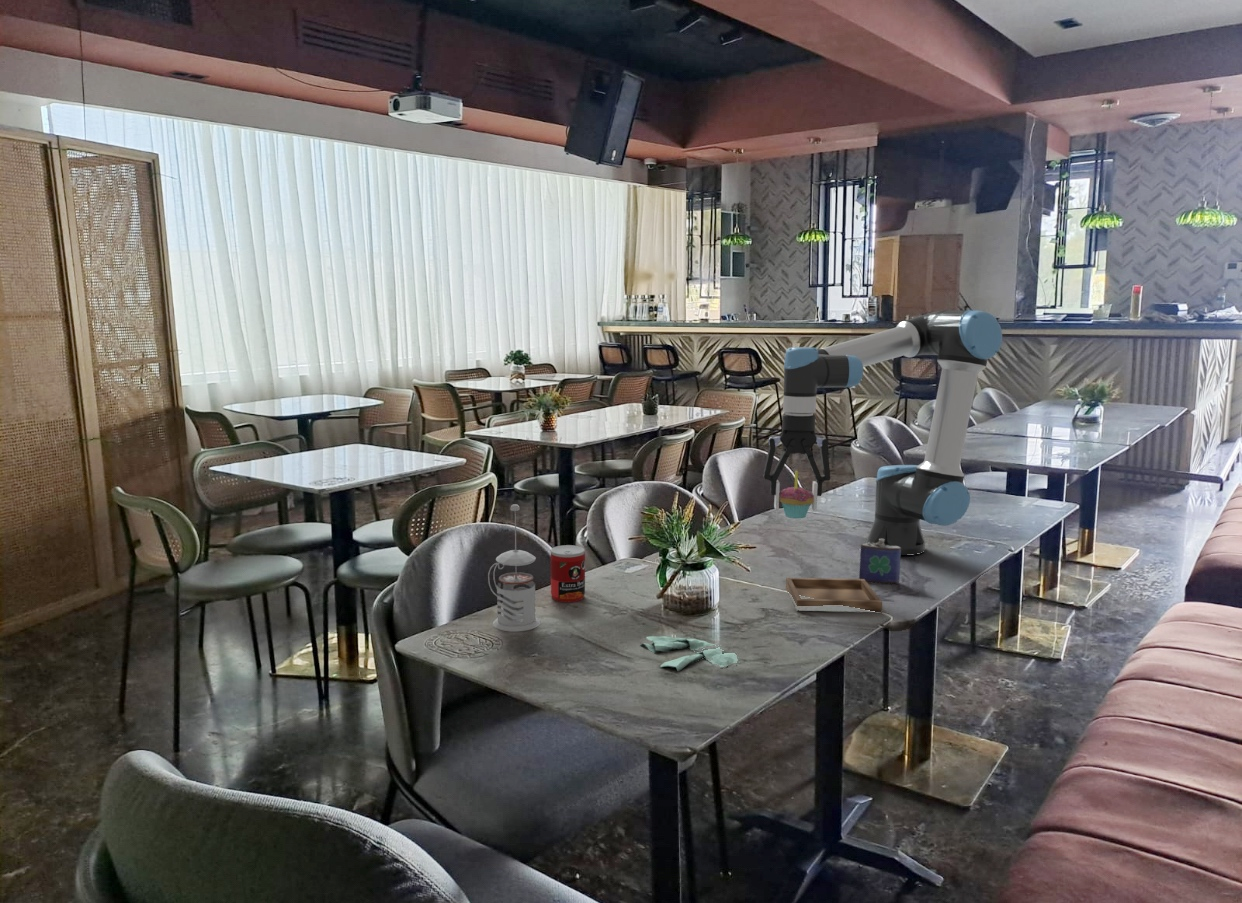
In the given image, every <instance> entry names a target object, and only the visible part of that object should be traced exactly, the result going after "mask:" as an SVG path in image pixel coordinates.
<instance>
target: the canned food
mask: <svg viewBox="0 0 1242 903" xmlns="http://www.w3.org/2000/svg"><path fill="white" fill-rule="evenodd" d="M585 550H586V549H585V548H584V547H582V546H578V545H574V544H573V545H572V544H566V545H557V546H554V547H552V548H551V549H550V594H551V598H552V600H554V601H557V602H561V603H575V602H579V601H581V600H583V599H584V597H585V594H586V551H585Z"/></svg>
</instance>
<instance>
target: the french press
mask: <svg viewBox="0 0 1242 903" xmlns="http://www.w3.org/2000/svg"><path fill="white" fill-rule="evenodd" d="M509 510H510V511H512V512H514V549H511V550H507V551H505V552H502V553H501V554H499V555H498V556H496V558H495V561H496V562H495V563H494V564H492V565H491V566H490V568H489V570H488V574H487V584H488V586H489V588H490V591H491V592H492V594H493V595H494V596H495V597H497V599H496V601H497V604H496V605H497V606H496V607H497V611H496V612H497V618H495V619H494V620H493V623H492V626H493V627H494V628H495V629H497V630H500V631H504V632H505V631H506V632H523V631H524V632H525V631H531V630H533V629H535V628H537V627H538V626H540V625H541V620H540V619H539V618H538V617H537V616H536V615H537V614H536V583H535V582H534V581H533V580H534V576H533V575H532V574H531V573H527V572H521V571H520V572H517V567H520V566H527V565H530V564H533V563H534V562H535V561H536V558H537V557H536V556H534V555H533V554H532V553H530V552H528V551H525V550H521V549H517V514H516V513H517V511H520V506H519V505H518V504H515V503H514V504H512V505H511V506H510V509H509ZM500 565H502V567H500ZM505 566H511V567H512V566H514V568H515V571H513V572H507V573H504V574H501V575H499V577H498V581H499V582H498V583H497V582H496V579H495V577H496V576H495V572H496V568H498V570H502V569H504V568H505ZM492 568H494V570H493V582H494V586H495V588H496V593H495V592H494V590H493V588H492V585H491V583H490V581H491V580H490V573H491V570H492ZM496 583H497V584H496ZM501 583H502V584H501ZM518 585H524V586H521V587H520V586H519V587H516V586H518ZM525 585H526V586H528V587H529V588H528V587H525ZM501 586H502V588H501ZM514 587H516V588H514ZM502 608H503V609H502Z"/></svg>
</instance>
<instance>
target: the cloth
mask: <svg viewBox="0 0 1242 903" xmlns="http://www.w3.org/2000/svg"><path fill="white" fill-rule="evenodd" d="M645 639H646V640H647V641H651V644H649V643H646V642H645V643H644V642H642V643H640V645H639V647H645V648H646V649H648V651H650V652H651V653H654V654H656V653H663V652H664V653H665V652H666V653H667V652H671V651H675V650H682V651H683V650H687V649H689V650H690V651H692V650H694V649H695V650H698V649H699V648H703V647H706V646H712V645H715V646H716V645H717V644H714V643H709V642H708V641H705V640H701V639H696V638H684V637H672V636H664V635H663V636H656V635H655V636H646V638H645ZM720 646H722V645H720ZM703 649H705V648H703ZM703 649H702V650H703ZM722 651H724V650H722V649H720V647H718V648H716V649H708V650H704V651H701V652H697V653H695V651H694V652H693V654H691V655H684V656H680V657H678V658H675V659H672V660H668V661H665V662H663V663H662V664H660V668H664V667H668V669H670V670H671V671H672V670H673V671H674V670H675V671H676V672H680V671H681V670H683V669H684V668H685V667H687V666H690V665H691V664H694V663H697V662H699V661H701V660H700V659H702V658H704V657H705V658H704V659H705V660H706V661H707V659H708V660H709V659H711V657H712V658H713V660H711V661H710V662H712V663H713V664H717V665H719V666H720V667H724V666H728V664H731V663H737V661H738V659H737V655H738V654H737V655H736V654H735V653H724V654H722ZM694 653H695V654H694ZM698 660H699V661H698ZM702 660H703V659H702ZM696 661H697V662H696ZM728 667H729V666H728Z"/></svg>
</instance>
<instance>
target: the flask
mask: <svg viewBox="0 0 1242 903" xmlns="http://www.w3.org/2000/svg"><path fill="white" fill-rule="evenodd" d="M884 540H885V539H882V538H881V539H879V542H878V543H873V544H872V543H870V542H868V543H867V542H865V543H861V544H860V556H859V558H860V559H859V572H858V573H859V574H858V576H859V577H858V579H865V581H866V582H867V583H868V584H881V585H892V584H893V585H899V584H898V583H900V575H901V574H900V572H901V557H902V556H901V548H900V547H899V546H885V545H884Z"/></svg>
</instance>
